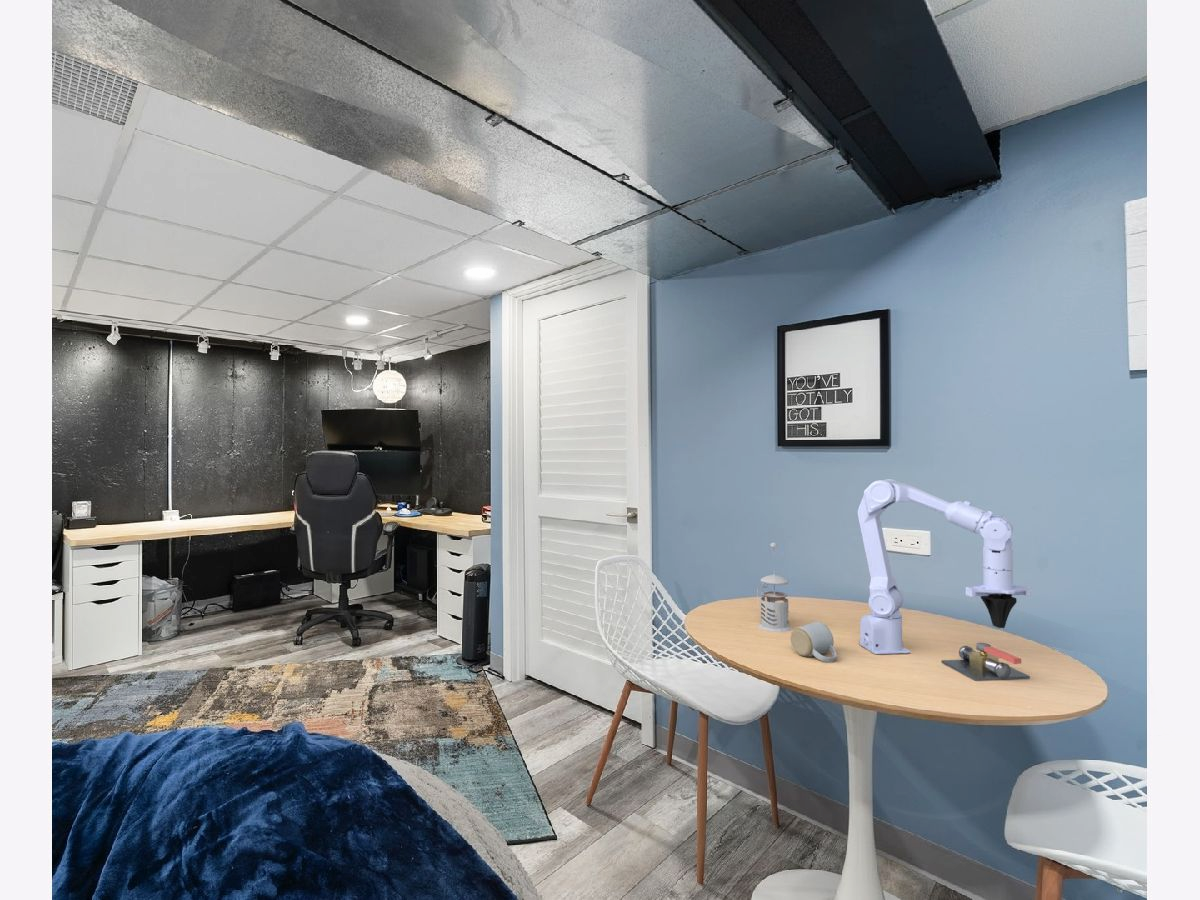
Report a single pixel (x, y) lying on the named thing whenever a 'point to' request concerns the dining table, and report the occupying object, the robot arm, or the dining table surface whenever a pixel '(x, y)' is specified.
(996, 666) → the valve assembly
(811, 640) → the ceramic mug
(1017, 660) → the valve lever
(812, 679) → the dining table surface
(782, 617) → the french press
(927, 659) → the dining table surface
